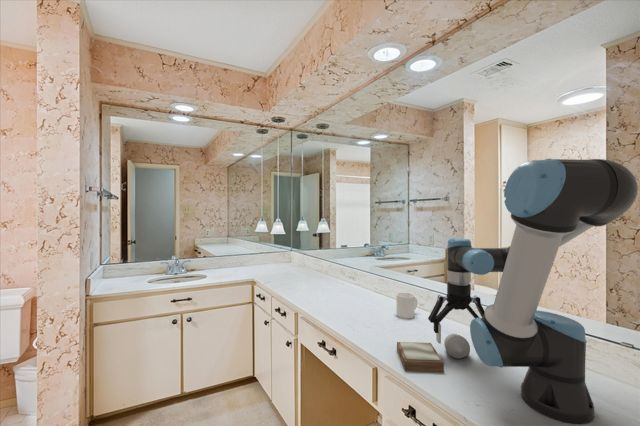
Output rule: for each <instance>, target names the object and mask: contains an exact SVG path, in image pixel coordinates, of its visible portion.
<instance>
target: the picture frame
mask: <svg viewBox="0 0 640 426" xmlns="http://www.w3.org/2000/svg"><path fill="white" fill-rule="evenodd" d="M396 352H397V353H398V356H399V359H400V361H401V364H402V367H403V369H404V371H408V372H431V373H432V372H433V373H436V372H437V373H444V372H445V370H444V369H445V367H444V366H445V364H444V363H445V362H444V360H443V359H442V358H441V355H439V353H438V352H437V350H436V349H435V347H434V345H433V344H432V343H431V342H413V341H412V342H411V341H410V342H409V341H407V342H406V341H396Z"/></svg>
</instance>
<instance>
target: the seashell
mask: <svg viewBox="0 0 640 426" xmlns="http://www.w3.org/2000/svg"><path fill="white" fill-rule="evenodd" d="M444 348H445V350H446V353H448V355H450V356H451V357H453V358H454V359H463V358H465V357H466V356H469V355H470V352H471V345H470V343H469V342H468V340H467V339H466V338H465V337H464V336H462V335H460V334H457V333H451V334H448V335H447V336H446V337H445V338H444Z"/></svg>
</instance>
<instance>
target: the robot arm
mask: <svg viewBox="0 0 640 426" xmlns="http://www.w3.org/2000/svg"><path fill="white" fill-rule="evenodd" d="M638 189H639V187H638V183H637V179H636V178H635V175H634V174H633V173H632V172H631V171H630V169H628V168H627V167H626V166H624V165H623V164H621V163H619V162H616V161H613V160H609V159H601V158H595V159H593V158H592V159H576V158H575V159H569V158H568V159H566V158H565V159H561V158H544V159H537V160H535V159H534V160H528V161H526V162H524V163H522V164H520V165H519V166H517V167H516V168H515V169H513V171H512V172H511V174H510V175H509V177H508V179H507V181H506V184H505V186H504V191H503V192H504V193H503V198H505V200H504V205H505V208H506V210H507V211H508V212H509V213H510V218H511V220H512V221H513V223H514V224H515V229H514V231H513V235H512V239H511V242H510V246H508V247H495V248H494V247H491V248H489V247H487V248H485V247H480V248H479V247H472V242H471V240H470V239H469V238H460V237H459V238H457V237H455V238H453V237H452V238H449V239H448V240H447V247H446V251H447V257H446V259H447V260H446V261H447V267H446V268H447V271H446V272H447V274H446V275H447V279H446V280H447V283H446V295H445V296H444V295H441V294H438V295H437V299H436V302H435V303H434V304H435V305H434V306H433V308H432V310H431V312H430V314H429V316H428V318H427V320H428V321H429V322H430V323H431V324H432V323H433V332H434V333H435V334H436V337H435V339H436V342H437V343H438V344H442V325H441V322H442V321H443V320H444V318H446V316H448V314H449V313H450V312H451V311H453V310H455V311H458V310H462V311H464V310H465V309H466V310H467V311H468V313H469V314H470V315H472V317H473V319H472V320H471V322H470V325H469V330H470V331H469V332H470V338H471V342H472V346H473V348H474V350H475V352H476V355H477V356H478V358H479V359H480V361H482V363H483V364H485V365H486V366H489V367H499V368H510V367H511V368H513V367H514V368H518V367H521V368H523V367H526V368H527V367H528V368H527V371H526V374H525V376H524V378H523V380H522V382H521V386H520V395H521V398H522V399H523V401H524V402H525V403H526V404H527V406H530V407H531V409H534V410H535V411H537V412H538V413H540V414H542V415H544V416H546V417H549V418H552V419H555V420H558V421H561V422H564V423H568V424H569V423H571V424H575V425H576V424H580V425H581V424H582V425H583V424H588V423H589V424H590V423H591V422H592V421H594V419H595V405H594V402H593V399H592V397H591V395H590V392H589V389H588V387H587V386H588V385H587V383H586V355H587V354H586V352H587V351H586V348H587V339H586V329H585V327H584V326H583V325H582V324H581V323H580V322H578V321H576V320H575V319H573V318H570V317H567V316H564V315H561V314H557V313H554V312H549V311H542V310H538V306H539V304H540V302H541V299H542V295H543V293H544V290H545V287H546V284H547V282H548V279H549V275H550V273H551V270H552V268H553V264H554V262H555V259H556V256H557V254H558V251H559V248H560V247H562V246H564V245H565V244H567V243H568V242H570V241H572V240H573V239H575V238H576V237H579V236H580V235H582V234H583V233H585V232H586V231H588V230H589V229H591V228H593V227H595V228H596V227H598V228H599V227H604V226H606V225H608V224H610V223H612V222H613V221H615V220H617V219H618V218H619V217H621V216H622V215H623V214H625V213H626V212H627V211H628V210H629V209H630V208H631V207H632V206H633V205H634V203H635V201H636V199H637V196H638ZM488 273H502V274H501V278H500V281H499V284H498V287H497V290H496V291H497V292H496V295H495V298H494V301H493V304H489V305H488V306H487V307H485V309H484V307H483V306H482V302H481V297H479V296H478V295H474V296H471V295H472V294H471V293H472V289H471V288H472V285H471V283H472V274H474V275H478V276H479V275H481V276H484V275H486V274H487V275H488ZM445 301H446V302H447V303H446V304H445V306H444V307H443V303H445ZM472 302H473V303H474V305H475V307H476V309H477V311H478V312H479V315H480V316H481V317H480V316H479V315H478V314H477V313H476V312H475V310H474V309H473V308H472V307H471V306H470V304H471V303H472ZM442 307H443V308H442ZM440 310H441V311H440Z"/></svg>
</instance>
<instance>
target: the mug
mask: <svg viewBox="0 0 640 426" xmlns="http://www.w3.org/2000/svg"><path fill="white" fill-rule="evenodd" d="M417 306H418V299H417V297H416V295H415V294H414V293H410V292H405V291H403V292H398V293H396V316H397V317H398V318H400V319H405V320H410V319H413V318H415V311H416V309H417Z"/></svg>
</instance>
